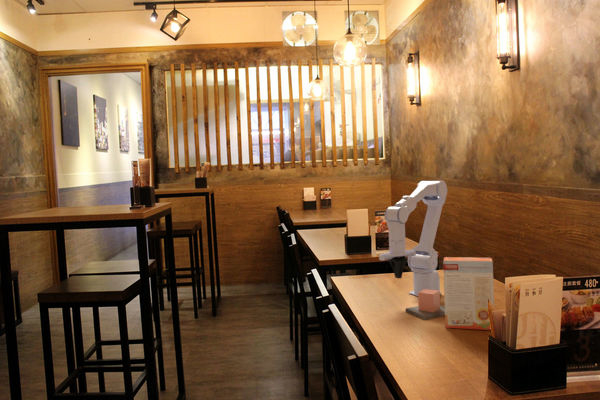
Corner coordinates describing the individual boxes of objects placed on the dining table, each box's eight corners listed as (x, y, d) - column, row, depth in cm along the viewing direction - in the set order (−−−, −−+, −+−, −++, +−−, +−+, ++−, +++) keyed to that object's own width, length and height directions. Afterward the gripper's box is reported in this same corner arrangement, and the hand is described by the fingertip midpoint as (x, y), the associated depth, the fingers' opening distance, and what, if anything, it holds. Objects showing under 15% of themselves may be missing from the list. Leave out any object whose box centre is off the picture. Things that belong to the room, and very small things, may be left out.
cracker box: (493, 324, 146) (492, 256, 145) (494, 331, 140) (493, 260, 139) (445, 321, 151) (443, 256, 149) (444, 328, 145) (443, 259, 144)
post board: (433, 306, 168) (433, 290, 167) (453, 313, 158) (453, 296, 158) (405, 311, 163) (405, 295, 162) (424, 319, 153) (424, 302, 153)
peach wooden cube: (425, 306, 164) (424, 288, 164) (439, 308, 161) (439, 290, 160) (418, 309, 160) (418, 292, 160) (433, 312, 157) (433, 294, 156)
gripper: (406, 236, 177) (407, 273, 178) (373, 240, 171) (375, 278, 172) (419, 239, 171) (420, 276, 172) (385, 243, 165) (386, 282, 166)
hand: (398, 277), depth 172 cm, fingers closed
